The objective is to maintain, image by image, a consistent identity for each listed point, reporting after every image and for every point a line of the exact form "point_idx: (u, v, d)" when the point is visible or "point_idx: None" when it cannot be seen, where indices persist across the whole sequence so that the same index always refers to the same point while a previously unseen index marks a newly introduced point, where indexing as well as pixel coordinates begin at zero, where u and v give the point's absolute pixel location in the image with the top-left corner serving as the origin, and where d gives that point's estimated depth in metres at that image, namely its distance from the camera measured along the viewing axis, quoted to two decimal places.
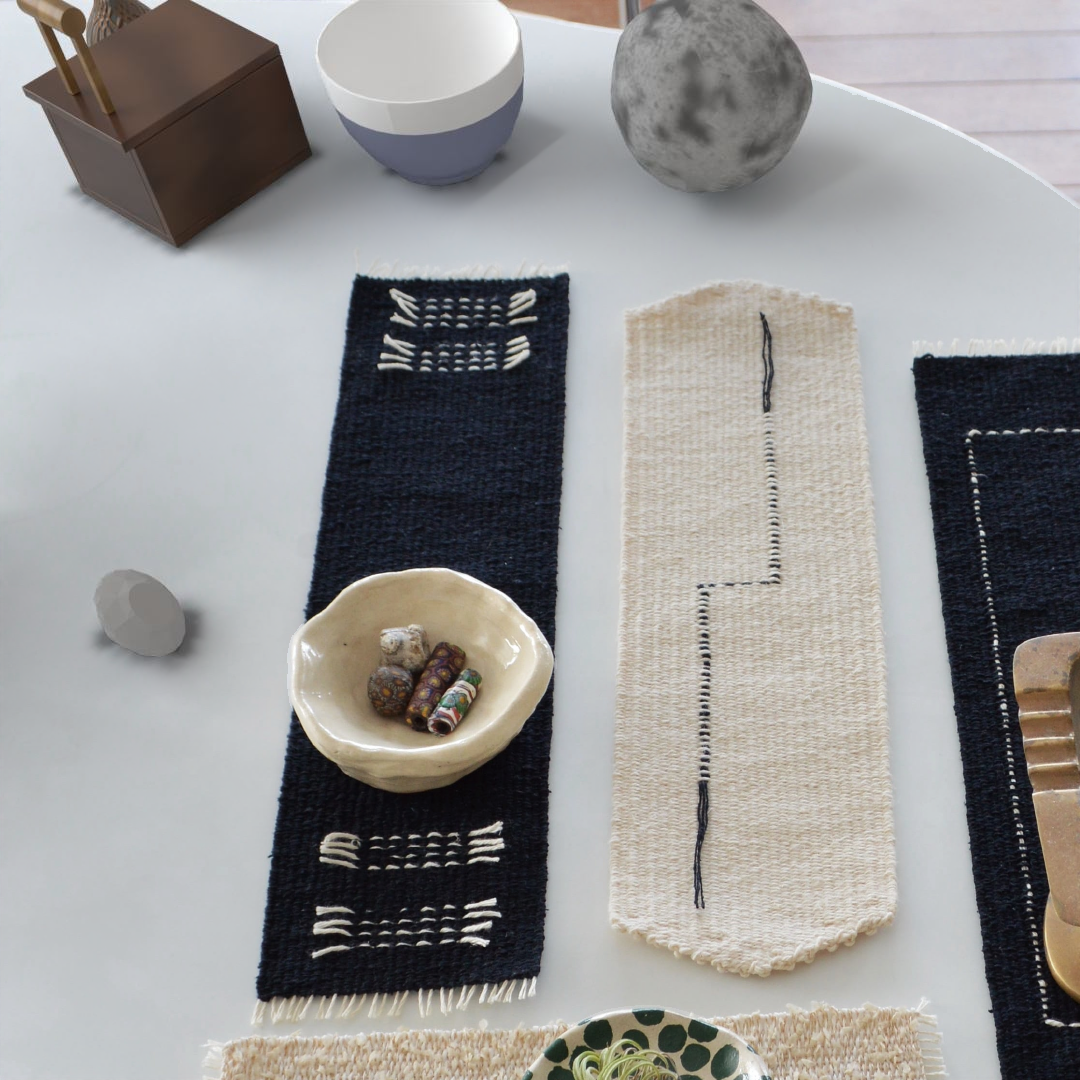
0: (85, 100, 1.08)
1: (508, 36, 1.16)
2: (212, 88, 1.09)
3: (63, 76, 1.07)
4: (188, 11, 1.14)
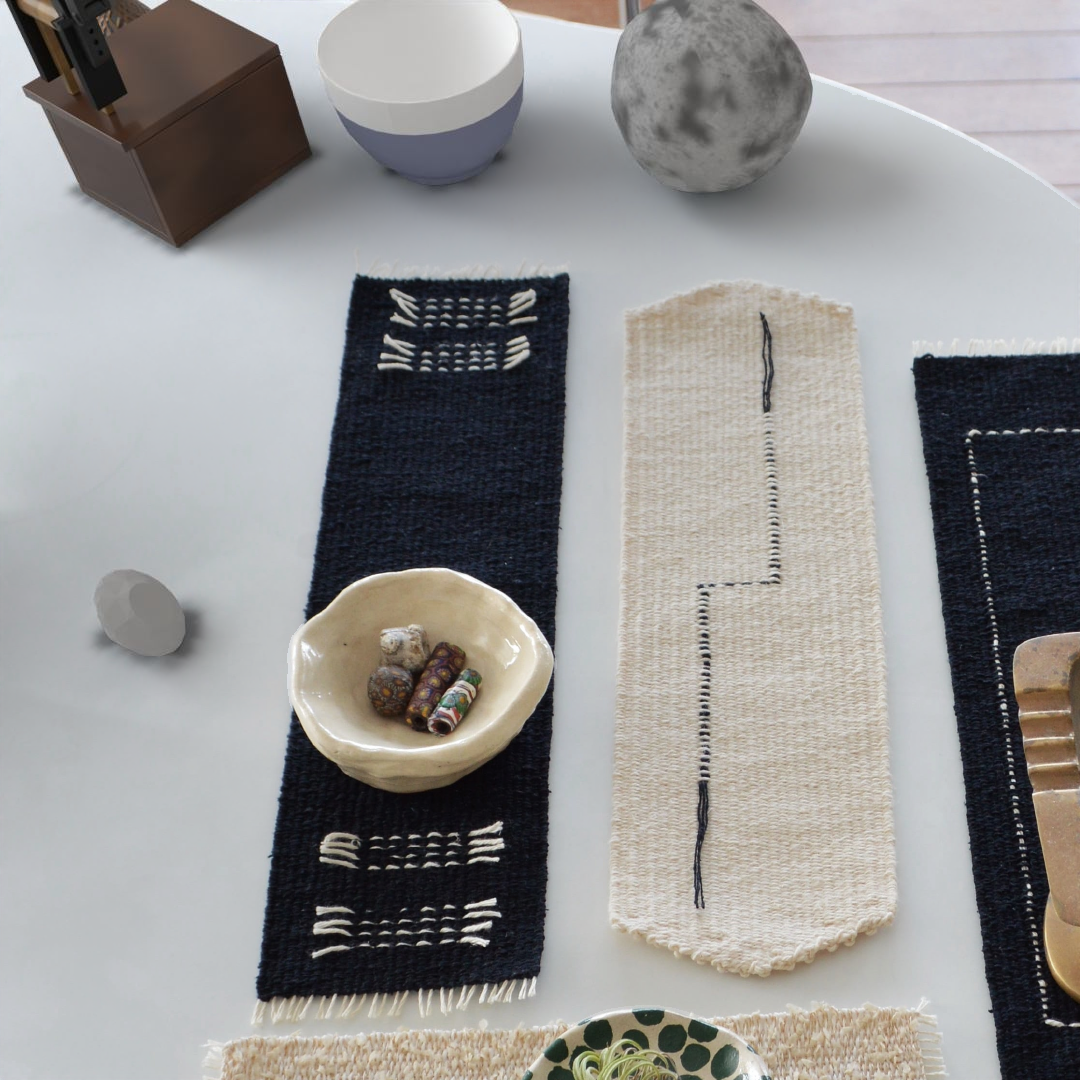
0: (85, 100, 1.08)
1: (508, 36, 1.16)
2: (212, 88, 1.09)
3: (63, 76, 1.07)
4: (188, 11, 1.14)
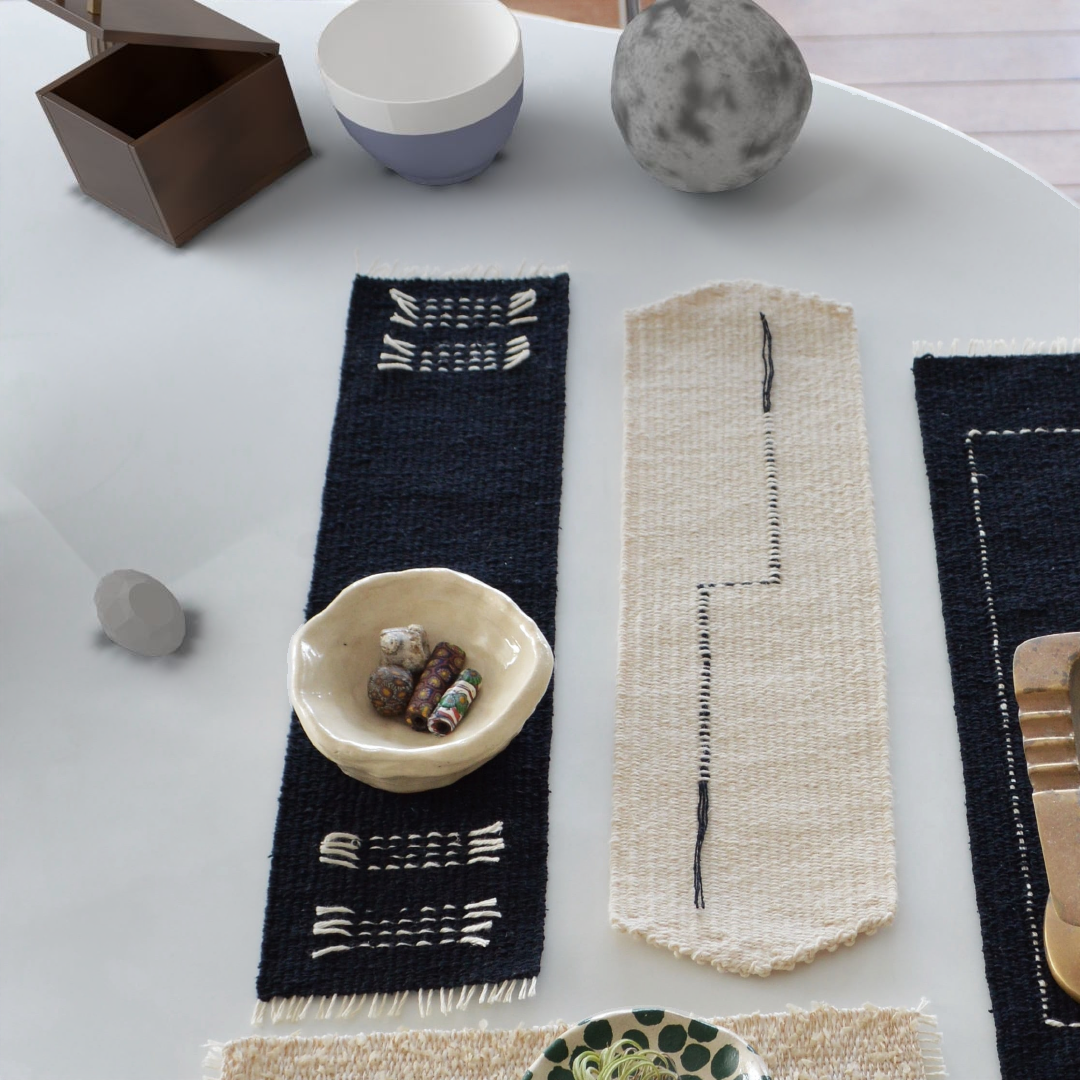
0: (69, 0, 1.03)
1: (508, 36, 1.16)
2: (207, 40, 1.06)
3: None
4: (189, 2, 1.14)
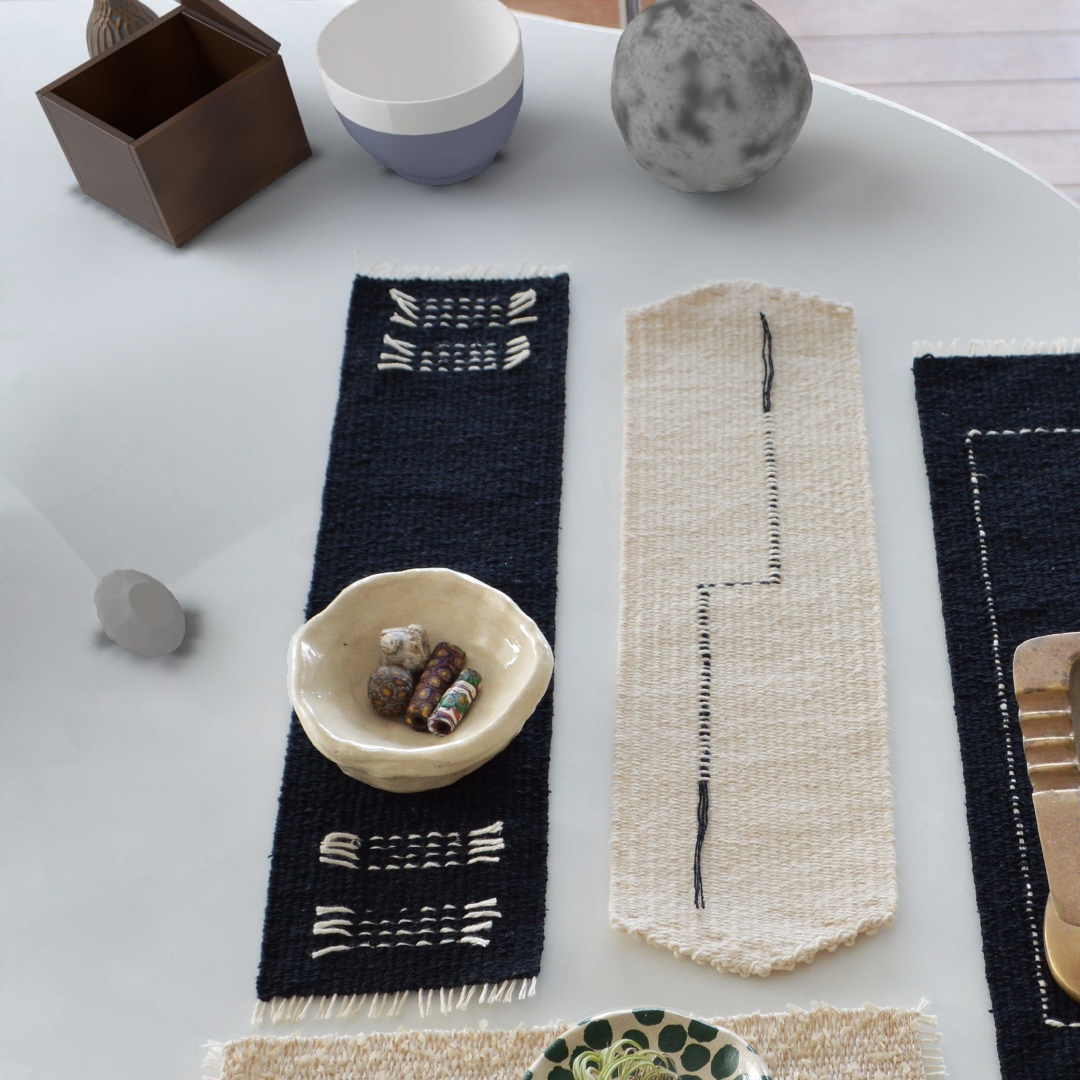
0: None
1: (508, 36, 1.16)
2: (218, 2, 1.06)
3: None
4: None
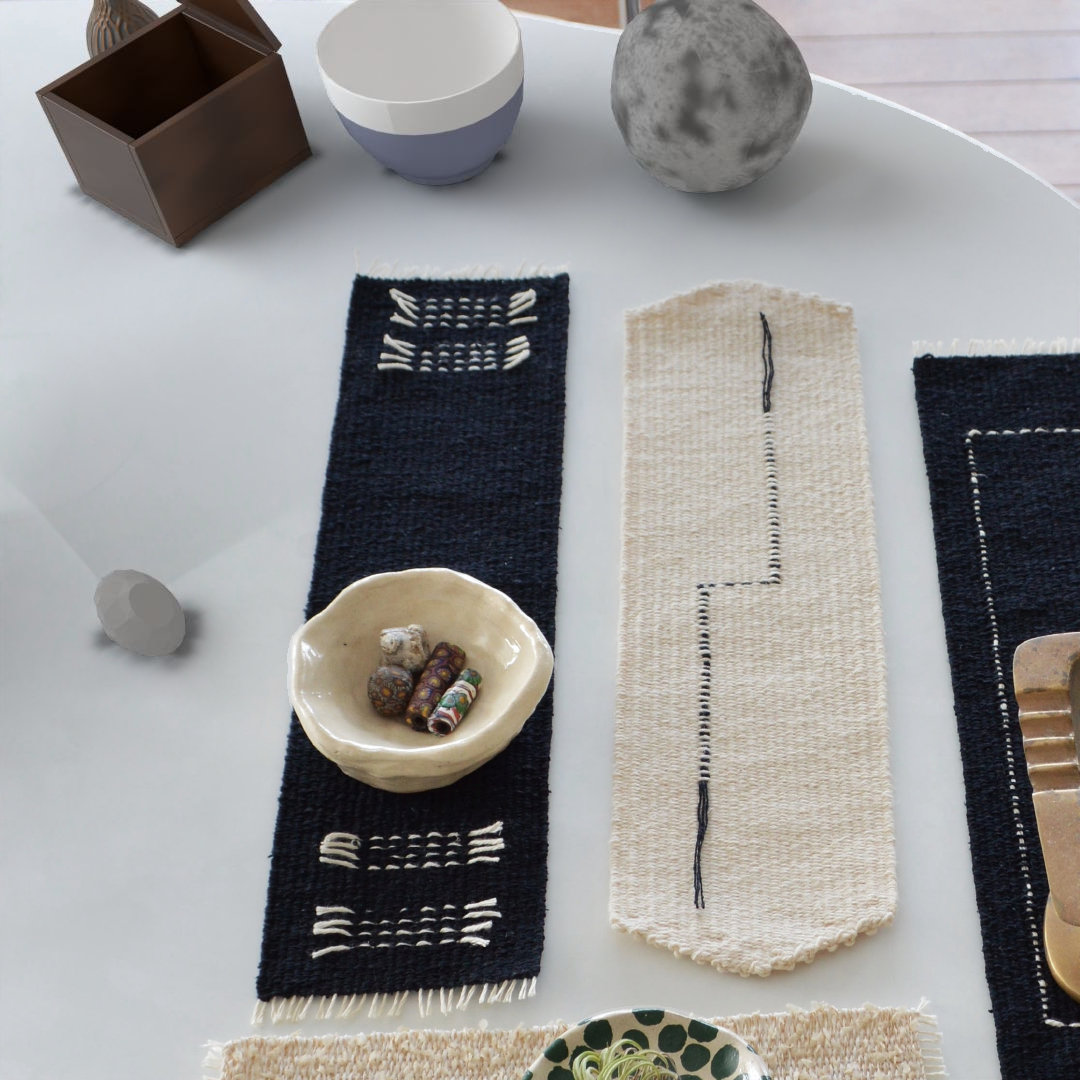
0: None
1: (508, 36, 1.16)
2: None
3: None
4: None
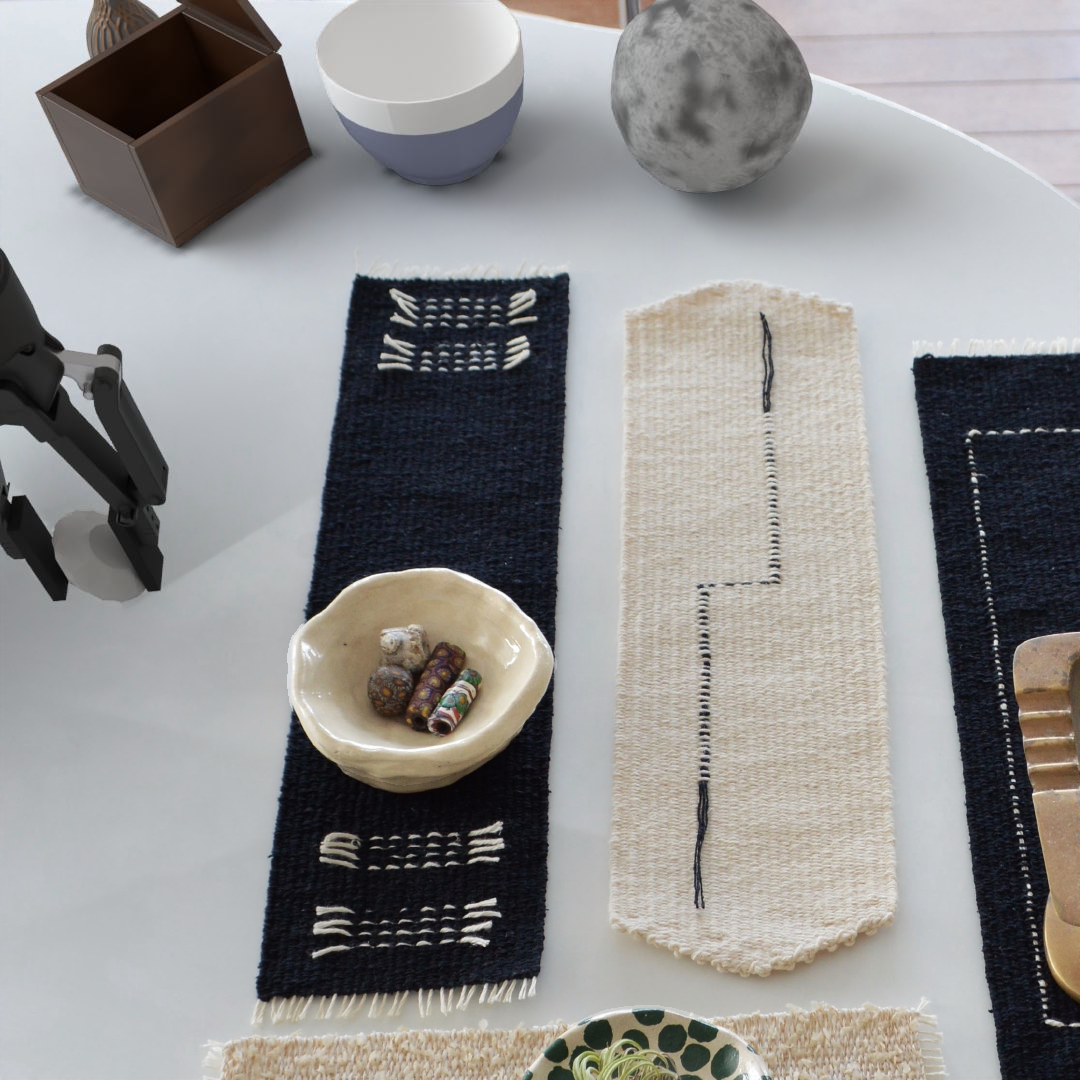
0: None
1: (508, 36, 1.16)
2: None
3: None
4: None
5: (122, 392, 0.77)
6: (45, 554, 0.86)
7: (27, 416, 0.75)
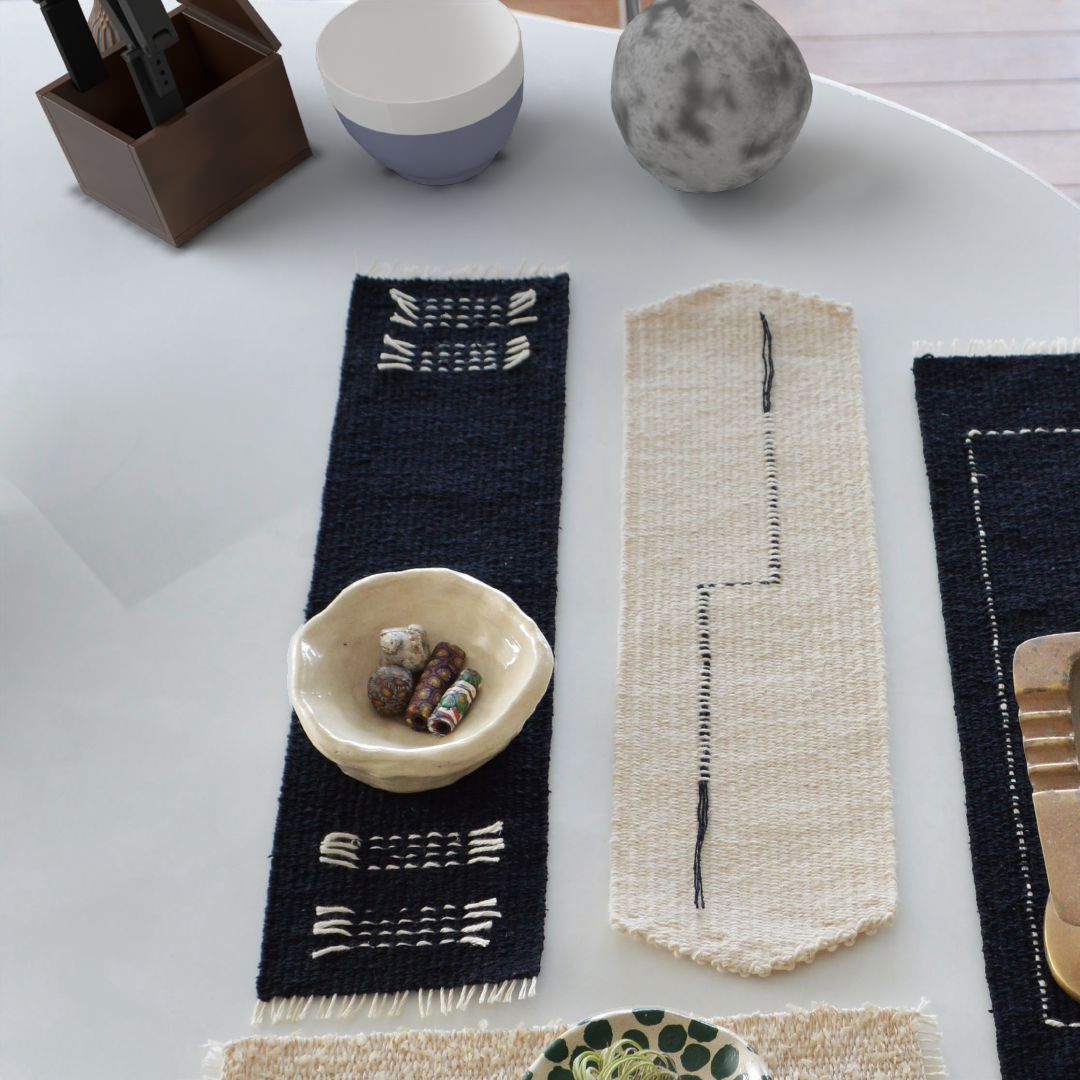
0: None
1: (508, 36, 1.16)
2: None
3: None
4: None
5: None
6: None
7: None
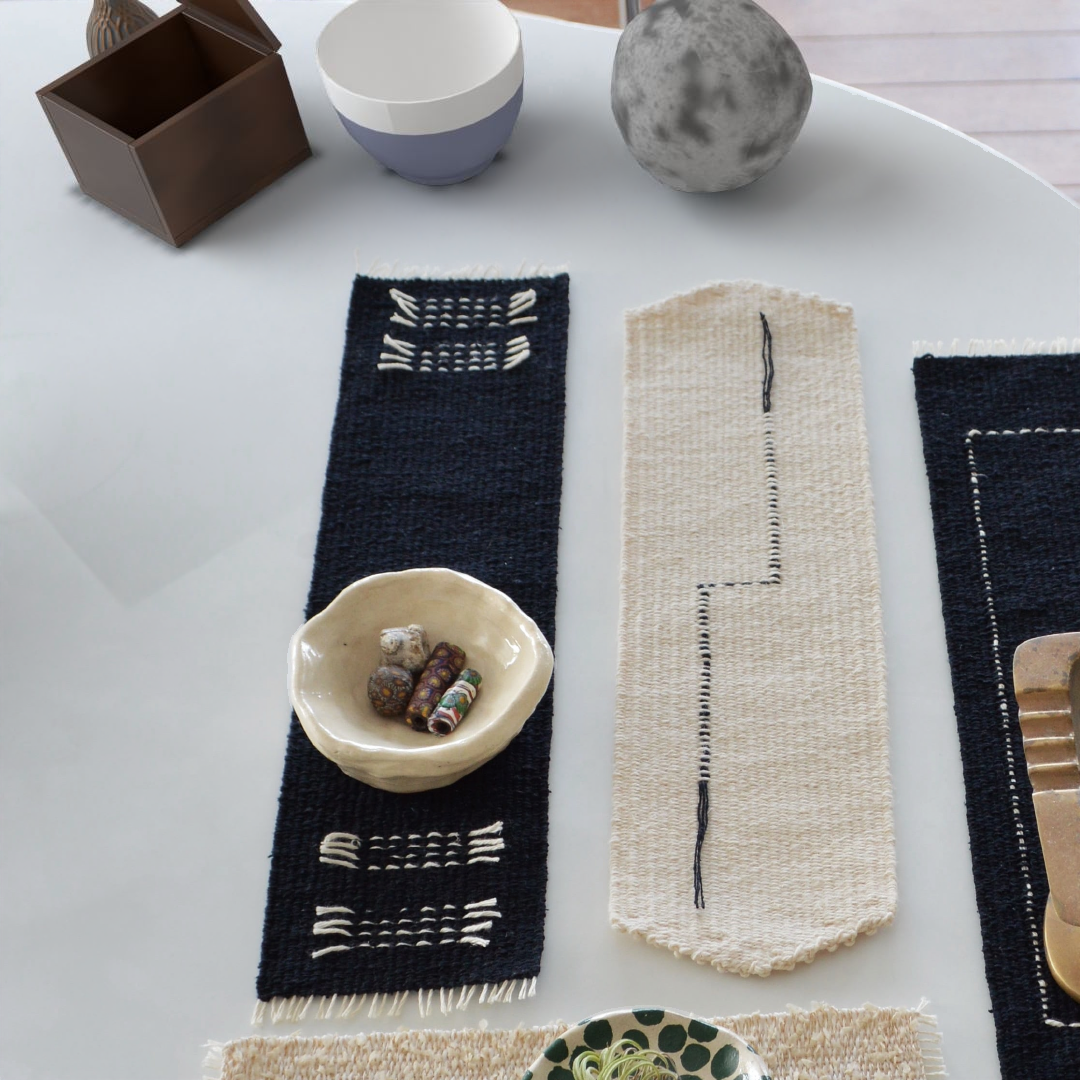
0: None
1: (508, 36, 1.16)
2: None
3: None
4: None
5: None
6: None
7: None
